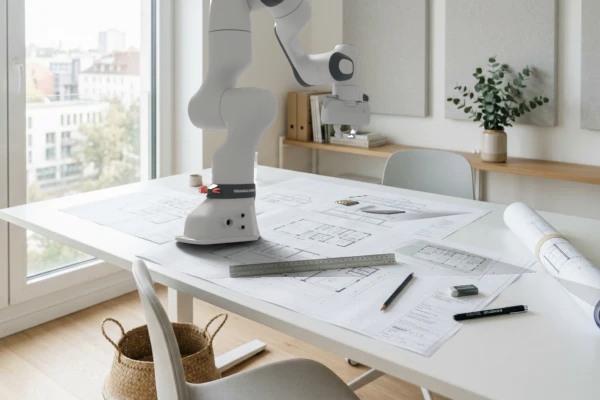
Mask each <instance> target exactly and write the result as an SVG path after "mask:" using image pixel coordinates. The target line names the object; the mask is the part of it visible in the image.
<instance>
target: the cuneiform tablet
mask: <svg viewBox="0 0 600 400" xmlns="http://www.w3.org/2000/svg"><path fill="white" fill-rule="evenodd" d="M367 196H368V195H367V194H364V195H363V194H362V195H353V196H349V198H350V199H339V200H335V201H334V203H335V204H338V205H342V206H346V207H348V206H353V205H357V204H360V202H359V201H358V200H353V199H351V198H359V197H360V198H361V197H367Z"/></svg>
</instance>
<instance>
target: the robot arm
mask: <svg viewBox="0 0 600 400" xmlns="http://www.w3.org/2000/svg"><path fill="white" fill-rule="evenodd" d="M209 1H210V2H209V8H208V14H207V15H208V19H207V37H208V39H207V40H208V41H207V42H208V43H207V45H208V47H207V48H208V49H207V50H208V51H207V52H208V53H207V54H208V57H207V58H208V61H207V68H206V72H205V75H204V79H203V80H202V83H201V85H200V87H199V88H198V90H197V91H196V92H195V93H194V94H193V95H192V96H191V97H190V99H189V102H188V105H187V115H188V118H189V121H190V122H191V124H192V125H193V126H194V127H195V128H196V129H200V130H204V131H205V130H206V131H210V132H224V131H225V132H227V136H226V138H225V141H224V142H223V143H222V144H221V145H220V146H219V147H217V148H216V149H215V150H214V151H213V152H212V155H211V183H210V184H209V186H207V185H200V186H199V187H198V193H199V194H206V196H205V199H204V200H203V201H202V202H201V203H200V204H198V205H197V206H196V207H195V208H194V209H193V210H191V212H189V213H188V214H187V216H186V217H185V220H184V227H183V234H177V235H175V236H174V237H175V238H174V240H175V241H176V242H180V243H186V244H193V245H212V244H213V245H215V244H226V243H239V242H248V241H249V242H251V241H257V240H259V238H260V237H261V234H260V229H259V224H258V221H257V214H256V213H257V212H256V205H255V204H256V201H255V200H256V197H257V195H256V194H257V192H256V191H257V189H256V188H257V185H256V183H255V158H256V151H257V148H258V145H259V143H260V141H261V138H262V137H263V135H264V133H265V132H266V131H267V130H268V129H269V128H270V127H271V126H272V125H274V123H275V121H276V120H277V117H278V115H279V114H278V113H279V103H278V100H277V97H276V96H275V95H274V93H273V92H272V91H271V90H269V89H267V88H261V87H256V86H246V87H243V86H241V87H237V83H238V80H239V78H240V77H241V76H242V74H243V73H245V72H246V71H247V70H248V69H249V68H250V67H251V64H252V62H253V55H252V53H253V51H252V48H253V47H252V25H251V17H250V16H251V15H250V13H251V12H258V11H262V10H265V9H266V10H267V11H268V13H269V14H270V16H271V17H272V18H273V20H274V26H273V30H274V35H275V37H276V39H277V42H278V45H279V46H280V47H281V50H282V51H283V53H284V55H285V57H286V59H287V61H288V63H289V65H290V67H291V70H292V73H293V76H294V78H295V80H296V82H297V83H298V84H299V85H300V86H302V87H304V88H310V87H314V86H321V85H329V84H332V94H329V93H328V94H326V95H325V96H324V97H323V99H322V104H321V112H320V113H321V114H320V122H321V123H322V124H323V125H333V130H334V132H335V137H336V139H340V140H341V139H344V133H343V132H342V130H341V128H342V126H344V125H345V126H350V129H351V131H350V133H349V134H348V139H350V140H355V139H356V137H357V133H358V130H359V127H360V126H363V127H364V126H369V125H370V123H371V106H370V104H369V103H370V102H371V96H370V95H368V94H367V93H365V92H364V91H362V90H361V88H360V87H361V86H360V81H359V80H360V79H359V78H360V74H361V65H360V64H361V62H360V55H359V54H360V53H359V49H358V48H357V47H356V46H354V45H353V44H348V43H341V44H337V45H335V47H334V49H332V50H329V51H328V52H323V53H322V52H321V53H317V54H316V53H315V54H310V53H306V51H304V49H303V47H302V44H301V43H300V41H299V38H298V36H297V35H299V34H300V33H302V32H303V31H304V30H305V29H306V27H307V26H308V24H309V23H310V21H311V17H312V6H311V4H310V1H309V0H209Z"/></svg>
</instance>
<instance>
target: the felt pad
mask: <svg viewBox="0 0 600 400" xmlns="http://www.w3.org/2000/svg"><path fill="white" fill-rule="evenodd" d="M362 212H363V213H367V214H369V213H370V214H379V215H393V214H402V213H403V214H404V213H406V211H405V210H397V209H395V210H394V209H391V210H390V209H387V210H385V209H384V210H383V209H380V210H379V209H378V210H374V209H373V210H362Z"/></svg>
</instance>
